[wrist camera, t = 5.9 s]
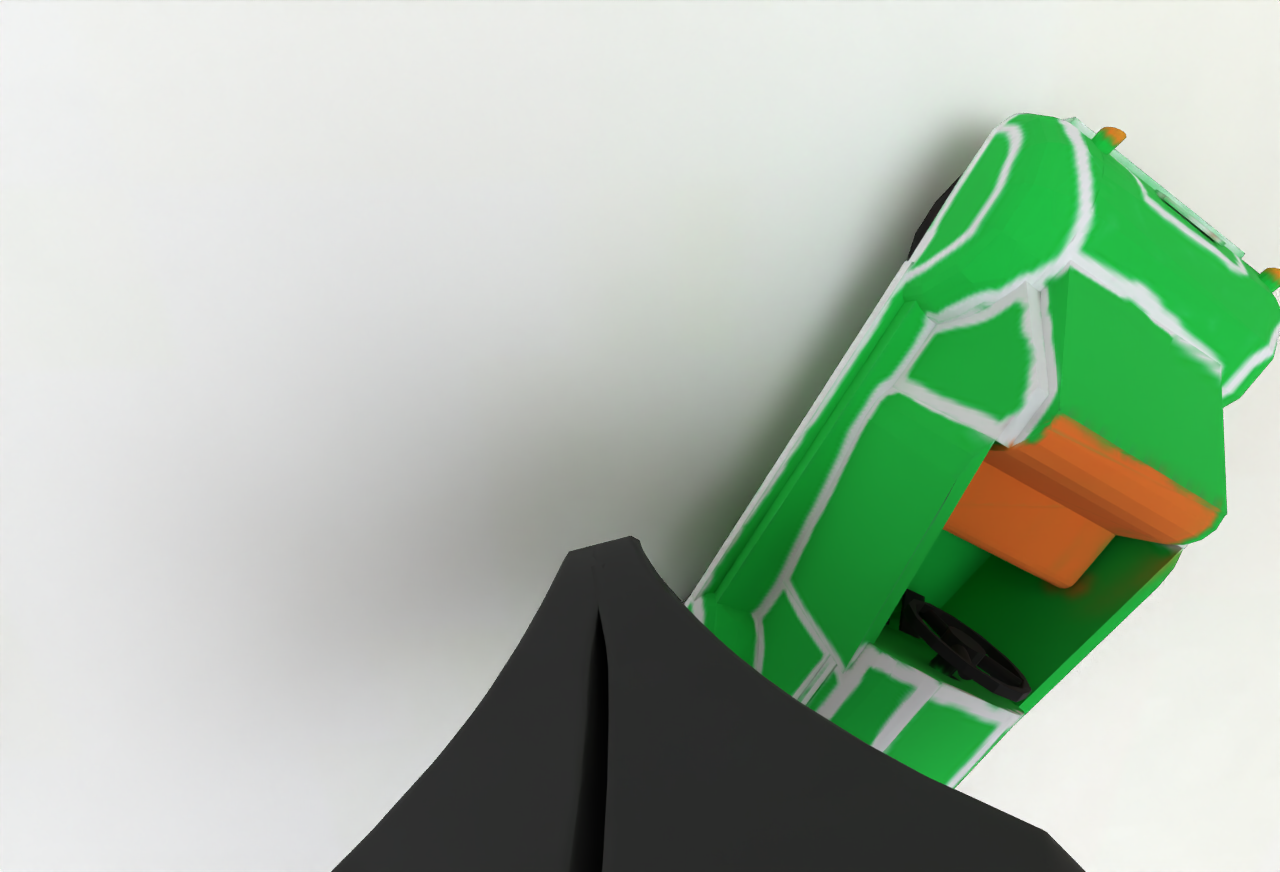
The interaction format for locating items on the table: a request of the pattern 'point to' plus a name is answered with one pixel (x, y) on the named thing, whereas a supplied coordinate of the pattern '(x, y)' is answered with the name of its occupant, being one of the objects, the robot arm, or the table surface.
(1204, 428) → the toy car
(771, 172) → the table surface
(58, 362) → the table surface
